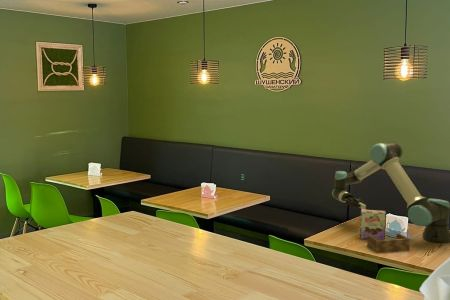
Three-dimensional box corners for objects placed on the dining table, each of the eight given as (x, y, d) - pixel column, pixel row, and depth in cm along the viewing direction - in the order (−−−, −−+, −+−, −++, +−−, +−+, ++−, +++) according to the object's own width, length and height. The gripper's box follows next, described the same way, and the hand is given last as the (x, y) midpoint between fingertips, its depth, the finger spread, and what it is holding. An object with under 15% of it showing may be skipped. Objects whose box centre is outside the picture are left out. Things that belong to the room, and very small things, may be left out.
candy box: (359, 238, 263) (360, 211, 261) (359, 235, 269) (360, 208, 267) (384, 241, 259) (386, 213, 257) (384, 238, 264) (385, 210, 262)
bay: (398, 243, 254) (399, 233, 253) (409, 249, 244) (409, 239, 243) (367, 246, 251) (367, 235, 250) (376, 252, 241) (377, 241, 240)
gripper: (355, 203, 296) (374, 213, 273) (337, 204, 293) (354, 214, 271) (356, 192, 295) (375, 200, 272) (337, 192, 292) (354, 201, 270)
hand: (364, 207), depth 271 cm, fingers closed
